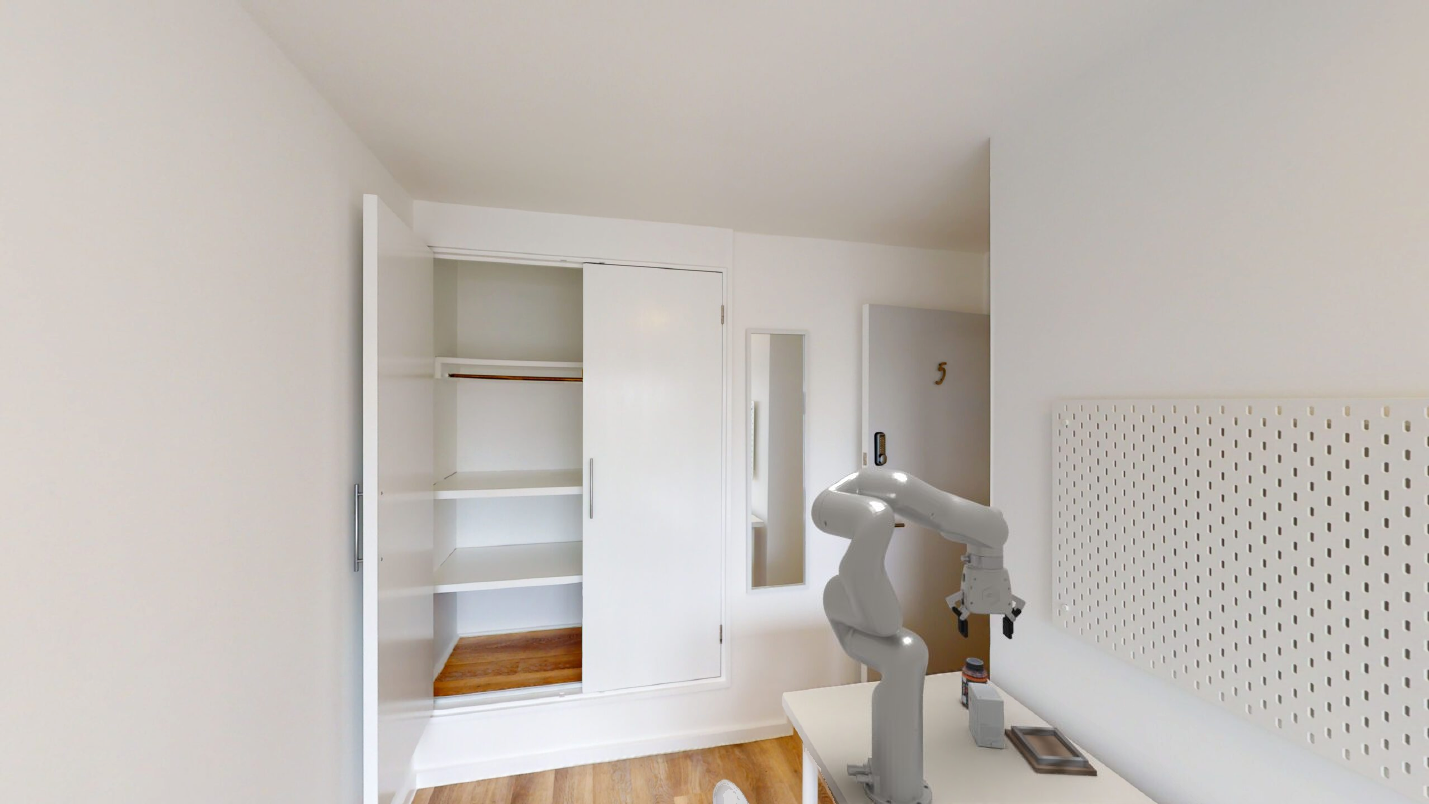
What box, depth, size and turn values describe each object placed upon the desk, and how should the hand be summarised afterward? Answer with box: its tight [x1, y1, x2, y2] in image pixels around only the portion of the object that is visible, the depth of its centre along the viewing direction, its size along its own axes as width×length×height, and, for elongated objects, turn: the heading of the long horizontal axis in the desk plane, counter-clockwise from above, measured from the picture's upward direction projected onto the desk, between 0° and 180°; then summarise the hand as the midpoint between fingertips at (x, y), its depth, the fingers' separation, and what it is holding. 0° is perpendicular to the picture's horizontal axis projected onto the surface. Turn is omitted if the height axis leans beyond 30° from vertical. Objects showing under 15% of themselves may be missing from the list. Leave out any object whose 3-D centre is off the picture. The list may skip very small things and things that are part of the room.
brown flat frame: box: [1004, 725, 1098, 777], centre depth 119 cm, size 12×14×2 cm
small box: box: [968, 682, 1005, 750], centre depth 125 cm, size 8×6×10 cm
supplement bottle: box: [961, 657, 989, 709], centre depth 139 cm, size 6×6×11 cm
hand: (985, 636), depth 125 cm, fingers open, 9 cm apart
